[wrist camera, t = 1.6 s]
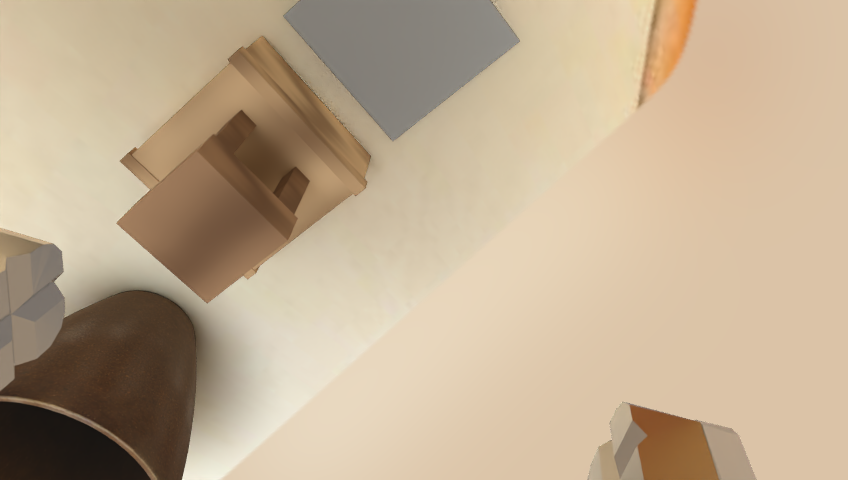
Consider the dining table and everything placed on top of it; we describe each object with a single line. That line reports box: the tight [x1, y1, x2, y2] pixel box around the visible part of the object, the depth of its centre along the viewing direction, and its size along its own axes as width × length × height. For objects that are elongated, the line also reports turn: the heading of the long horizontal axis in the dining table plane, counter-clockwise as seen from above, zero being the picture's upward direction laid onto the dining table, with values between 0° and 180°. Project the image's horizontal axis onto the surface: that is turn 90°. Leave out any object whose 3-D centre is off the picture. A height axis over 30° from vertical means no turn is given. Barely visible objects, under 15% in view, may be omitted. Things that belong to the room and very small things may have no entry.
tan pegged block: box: [116, 110, 310, 303], centre depth 36 cm, size 6×6×8 cm
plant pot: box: [0, 291, 196, 480], centre depth 44 cm, size 15×15×16 cm
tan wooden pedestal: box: [120, 36, 371, 279], centre depth 42 cm, size 10×10×5 cm
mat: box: [284, 0, 520, 141], centre depth 40 cm, size 10×10×1 cm
